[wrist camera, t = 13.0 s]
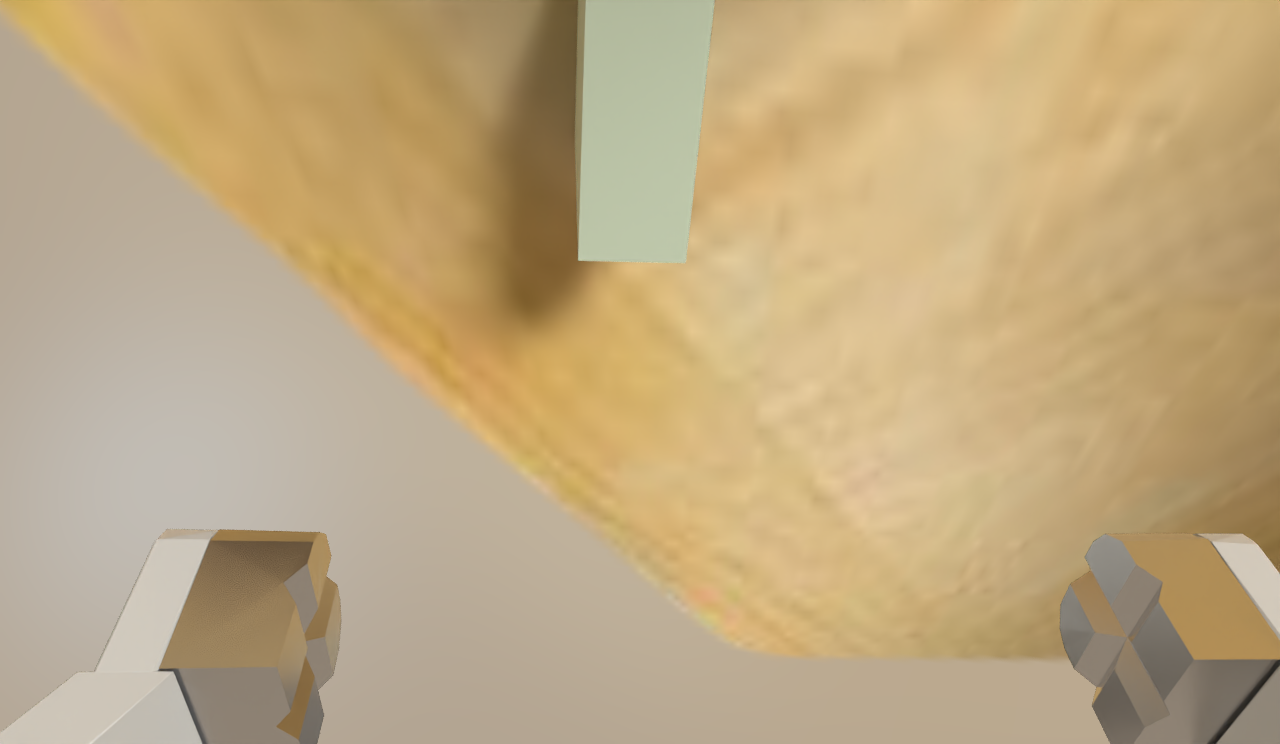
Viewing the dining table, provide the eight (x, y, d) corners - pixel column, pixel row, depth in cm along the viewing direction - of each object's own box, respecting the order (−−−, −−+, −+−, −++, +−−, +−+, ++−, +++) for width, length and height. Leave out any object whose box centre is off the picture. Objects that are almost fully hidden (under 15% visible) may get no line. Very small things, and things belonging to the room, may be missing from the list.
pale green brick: (681, -95, 22) (716, -17, 17) (661, 141, 26) (686, 263, 21) (580, -101, 22) (586, -24, 17) (574, 138, 26) (578, 260, 21)
